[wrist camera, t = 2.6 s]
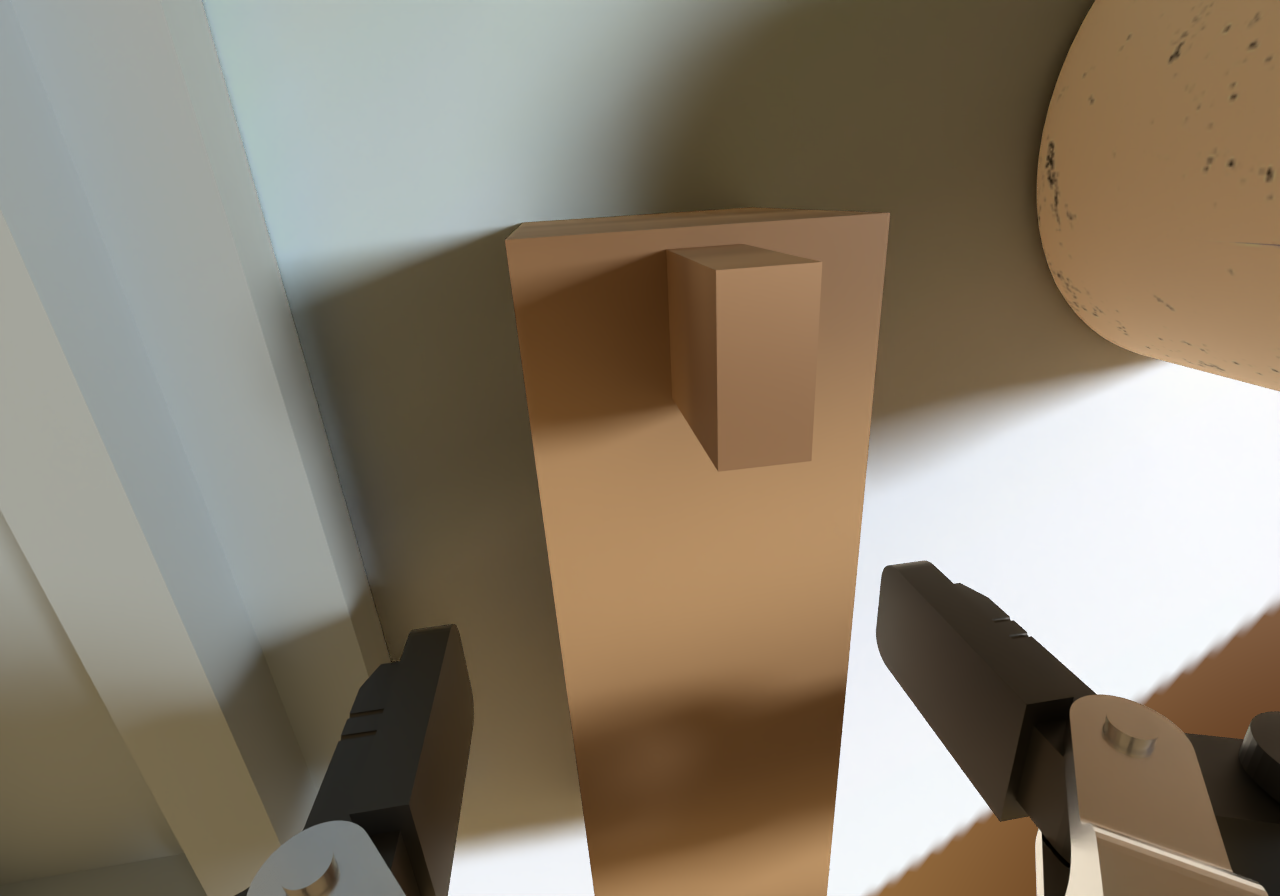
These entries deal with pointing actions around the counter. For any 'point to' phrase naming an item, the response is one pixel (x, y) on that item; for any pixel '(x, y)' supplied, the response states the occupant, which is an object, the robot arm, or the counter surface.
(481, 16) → the counter surface
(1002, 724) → the robot arm
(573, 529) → the plank with peg
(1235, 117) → the teacup with lid
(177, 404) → the cradle jig
